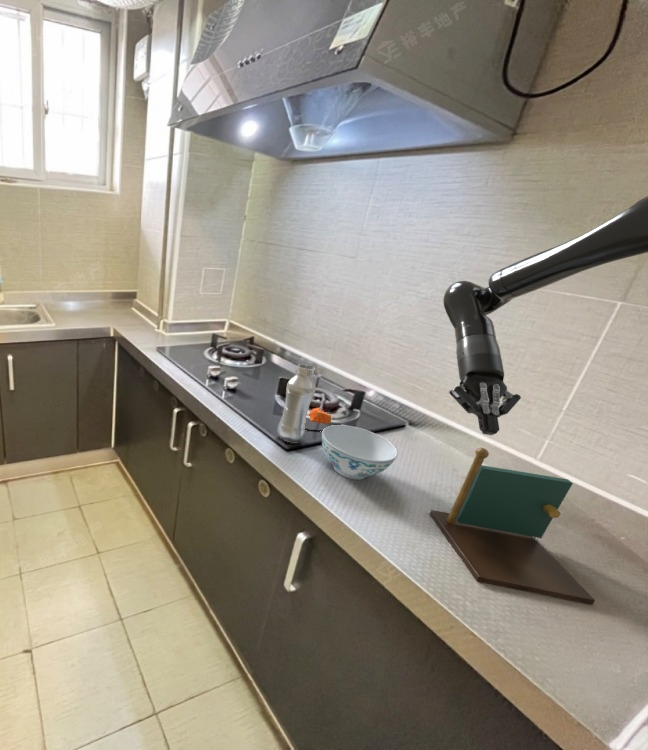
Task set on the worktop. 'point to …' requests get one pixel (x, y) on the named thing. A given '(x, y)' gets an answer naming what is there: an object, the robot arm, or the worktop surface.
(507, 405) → the robot arm
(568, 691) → the worktop surface
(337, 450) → the chinaware
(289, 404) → the plastic bottle
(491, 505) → the door
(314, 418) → the rock
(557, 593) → the door stand
